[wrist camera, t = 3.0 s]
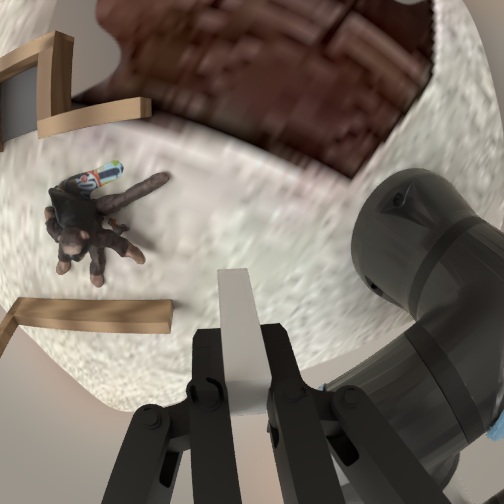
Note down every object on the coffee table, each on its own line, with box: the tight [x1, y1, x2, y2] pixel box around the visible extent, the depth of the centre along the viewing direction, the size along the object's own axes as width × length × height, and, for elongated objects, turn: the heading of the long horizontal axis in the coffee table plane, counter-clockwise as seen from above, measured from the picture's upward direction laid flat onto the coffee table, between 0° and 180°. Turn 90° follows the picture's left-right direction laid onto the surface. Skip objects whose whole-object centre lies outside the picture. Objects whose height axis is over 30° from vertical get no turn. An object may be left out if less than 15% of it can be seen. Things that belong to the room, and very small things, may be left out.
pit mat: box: [1, 65, 38, 142], centre depth 15 cm, size 7×6×1 cm
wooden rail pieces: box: [0, 31, 173, 357], centre depth 15 cm, size 22×28×12 cm
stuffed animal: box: [44, 161, 169, 287], centre depth 22 cm, size 12×10×12 cm
